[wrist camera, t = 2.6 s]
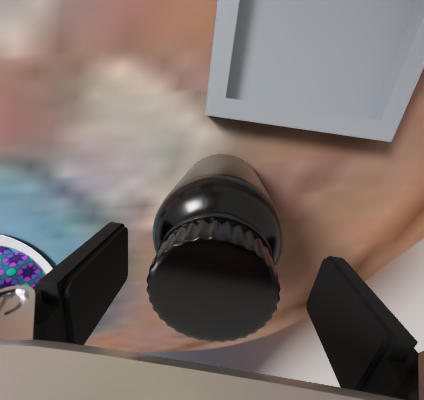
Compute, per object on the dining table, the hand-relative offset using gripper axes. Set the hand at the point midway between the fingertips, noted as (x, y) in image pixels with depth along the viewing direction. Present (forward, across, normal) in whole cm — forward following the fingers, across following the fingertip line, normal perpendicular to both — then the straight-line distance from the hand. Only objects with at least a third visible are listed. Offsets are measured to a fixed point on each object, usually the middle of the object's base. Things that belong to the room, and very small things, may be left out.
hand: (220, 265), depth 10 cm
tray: (+9, -4, -13) cm, 17 cm away
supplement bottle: (+10, 0, -1) cm, 10 cm away
